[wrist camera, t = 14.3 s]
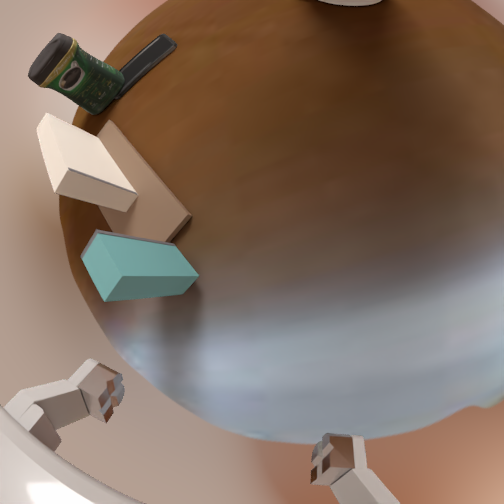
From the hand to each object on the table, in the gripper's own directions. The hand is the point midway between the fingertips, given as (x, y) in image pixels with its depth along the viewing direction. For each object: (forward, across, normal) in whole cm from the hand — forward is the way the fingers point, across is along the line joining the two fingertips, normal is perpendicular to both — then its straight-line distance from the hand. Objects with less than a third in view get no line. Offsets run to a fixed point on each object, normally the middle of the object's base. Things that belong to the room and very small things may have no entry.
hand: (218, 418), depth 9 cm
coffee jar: (+37, +37, -17) cm, 55 cm away
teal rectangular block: (+20, +10, +5) cm, 23 cm away
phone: (+38, +31, -23) cm, 54 cm away
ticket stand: (+28, +23, -1) cm, 36 cm away
